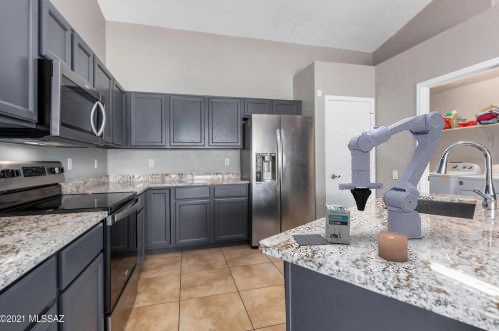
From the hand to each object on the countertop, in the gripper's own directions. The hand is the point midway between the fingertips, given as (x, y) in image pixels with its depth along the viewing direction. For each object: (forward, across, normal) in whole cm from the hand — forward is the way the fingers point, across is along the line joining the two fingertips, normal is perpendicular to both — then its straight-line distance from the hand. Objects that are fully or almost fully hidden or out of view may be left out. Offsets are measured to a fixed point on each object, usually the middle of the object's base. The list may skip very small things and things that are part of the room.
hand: (360, 210), depth 82 cm
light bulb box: (+10, +9, 0) cm, 13 cm away
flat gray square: (+9, +18, 0) cm, 20 cm away
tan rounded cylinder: (+10, 0, +16) cm, 19 cm away
